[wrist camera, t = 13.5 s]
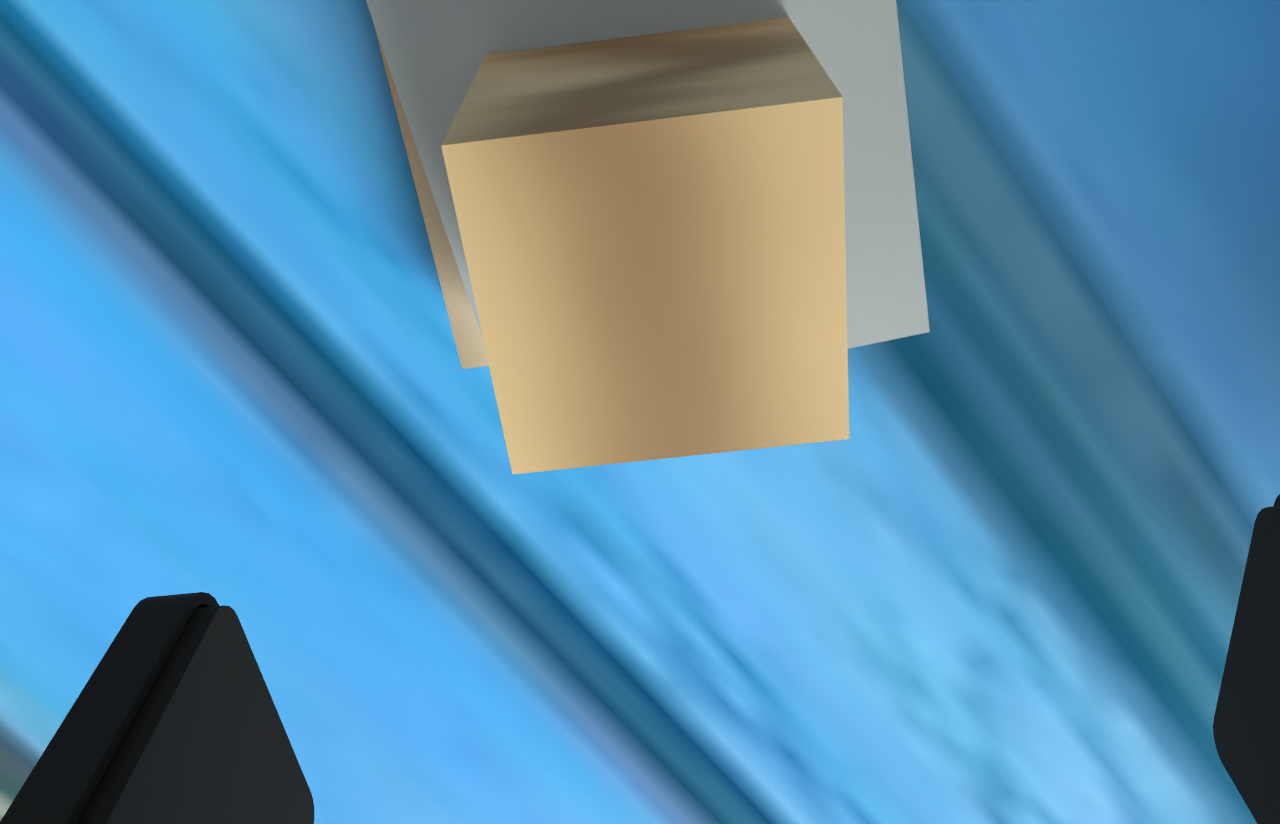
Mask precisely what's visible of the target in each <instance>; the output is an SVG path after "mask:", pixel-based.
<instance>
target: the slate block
mask: <svg viewBox="0 0 1280 824" xmlns="http://www.w3.org/2000/svg"><path fill="white" fill-rule="evenodd" d="M366 2H367V5H368V8H369V11H370V14H371V17H372V20H373V23H374V26H375V28H376V31H377V34H378V37H379V40H380V43H381V46H382V49H383V52H384V54H385V57H386V60H387V63H388V66H389V69H390V72H391V75H392V78H393V81H394V83H395V86H396V89H397V92H398V95H399V98H400V101H401V104H402V107H403V109H404V112H405V115H406V118H407V121H408V124H409V127H410V130H411V133H412V135H413V138H414V141H415V144H416V147H417V150H418V153H419V156H420V159H421V161H422V164H423V167H424V170H425V173H426V176H427V179H428V182H429V185H430V187H431V190H432V193H433V196H434V199H435V202H436V205H437V208H438V211H439V213H440V216H441V219H442V222H443V225H444V228H445V231H446V234H447V237H448V240H449V242H450V245H451V248H452V251H453V254H454V257H455V260H456V263H457V266H458V268H459V271H460V274H461V277H462V280H463V283H464V286H465V289H466V292H467V294H468V297H469V300H470V303H471V306H472V309H473V312H474V315H475V318H476V320H477V323H478V326H479V329H480V332H481V335H482V331H481V326H480V322H479V317H478V313H477V308H476V303H475V299H474V294H473V290H472V285H471V280H470V276H469V271H468V267H467V262H466V257H465V253H464V248H463V244H462V239H461V235H460V230H459V225H458V221H457V216H456V212H455V207H454V202H453V198H452V193H451V189H450V184H449V179H448V175H447V170H446V166H445V161H444V156H443V152H442V147H441V145H442V143H443V141H444V139H445V137H446V135H447V133H448V131H449V129H450V127H451V125H452V123H453V121H454V119H455V117H456V115H457V113H458V111H459V109H460V107H461V105H462V103H463V100H464V98H465V96H466V94H467V92H468V90H469V88H470V86H471V84H472V82H473V80H474V78H475V76H476V74H477V72H478V70H479V68H480V66H481V64H482V62H483V60H484V58H485V56H486V55H489V54H497V53H505V52H513V51H521V50H529V49H537V48H545V47H553V46H561V45H569V44H577V43H585V42H593V41H601V40H609V39H617V38H625V37H633V36H641V35H649V34H657V33H665V32H673V31H681V30H689V29H697V28H705V27H713V26H721V25H729V24H737V23H744V22H753V21H761V20H769V19H777V18H785V17H789V18H790V20H791V21H792V22H793V24H794V25H795V27H796V28H797V30H798V31H799V33H800V34H801V36H802V37H803V39H804V40H805V42H806V43H807V45H808V46H809V48H810V49H811V51H812V52H813V54H814V55H815V57H816V58H817V60H818V61H819V63H820V64H821V66H822V67H823V69H824V70H825V72H826V73H827V74H828V76H829V77H830V79H831V80H832V82H833V83H834V85H835V86H836V88H837V89H838V91H839V92H840V94H841V95H842V97H843V142H844V193H845V244H846V296H847V347H848V349H849V348H854V347H859V346H864V345H868V344H873V343H878V342H883V341H888V340H893V339H898V338H903V337H907V336H912V335H917V334H922V333H927V332H930V331H929V321H928V311H927V301H926V291H925V281H924V271H923V261H922V252H921V242H920V232H919V222H918V212H917V202H916V192H915V182H914V172H913V163H912V153H911V143H910V133H909V123H908V113H907V103H906V93H905V83H904V74H903V64H902V54H901V44H900V34H899V24H898V14H897V4H896V0H366ZM482 338H483V336H482ZM483 341H484V340H483Z"/></svg>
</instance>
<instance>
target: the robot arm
mask: <svg viewBox="0 0 1280 824" xmlns="http://www.w3.org/2000/svg"><path fill="white" fill-rule="evenodd" d="M1213 731H1214V740H1215V744H1216V748H1217V751H1218V754H1219V757H1220V759H1221V761H1222V763H1223V765H1224V767H1225V769H1226V770H1227V772H1228V774H1229V776H1230V777H1231V779H1232V781H1233V782H1234V784H1235V786H1236V788H1237V789H1238V791H1239V793H1240V794H1241V796H1242V798H1243V800H1244V801H1245V803H1246V805H1247V806H1248V808H1249V810H1250V811H1251V813H1252V815H1253V817H1254V818H1255V820H1256V822H1257V823H1258V824H1280V494H1279V496H1278V497H1277V498H1276V500H1275V503H1274V506H1273V507H1267V508H1264V509H1262V510H1261V511H1260V512H1259V513H1258V515H1257V518H1256V521H1255V525H1254V530H1253V534H1252V539H1251V544H1250V549H1249V554H1248V558H1247V563H1246V568H1245V573H1244V577H1243V582H1242V587H1241V592H1240V597H1239V601H1238V606H1237V611H1236V616H1235V621H1234V625H1233V630H1232V635H1231V640H1230V645H1229V649H1228V654H1227V659H1226V664H1225V669H1224V673H1223V678H1222V683H1221V688H1220V692H1219V697H1218V702H1217V707H1216V712H1215V716H1214V724H1213ZM0 824H314V804H313V798H312V795H311V792H310V789H309V787H308V784H307V782H306V780H305V777H304V775H303V772H302V770H301V768H300V765H299V763H298V760H297V758H296V756H295V753H294V751H293V748H292V746H291V744H290V741H289V739H288V736H287V734H286V732H285V729H284V727H283V724H282V722H281V720H280V717H279V715H278V712H277V710H276V708H275V705H274V703H273V700H272V698H271V696H270V693H269V691H268V688H267V686H266V684H265V681H264V679H263V676H262V674H261V672H260V669H259V667H258V664H257V662H256V660H255V657H254V655H253V652H252V650H251V648H250V645H249V643H248V640H247V638H246V635H245V633H244V631H243V628H242V626H241V623H240V621H239V619H238V616H237V615H236V613H235V611H234V610H233V609H232V608H231V607H230V606H219V604H218V603H217V601H216V599H215V598H214V597H213V596H211V595H210V594H209V593H204V592H199V593H189V594H178V595H168V596H157V597H147V598H145V599H143V600H141V601H140V602H139V603H138V604H137V605H136V606H135V607H134V609H133V610H132V612H131V613H130V615H129V617H128V618H127V620H126V621H125V623H124V625H123V626H122V628H121V629H120V631H119V633H118V634H117V636H116V637H115V639H114V641H113V642H112V644H111V645H110V647H109V649H108V650H107V652H106V653H105V655H104V657H103V658H102V660H101V661H100V663H99V665H98V666H97V668H96V669H95V671H94V673H93V674H92V676H91V677H90V679H89V681H88V682H87V684H86V685H85V687H84V689H83V690H82V692H81V693H80V695H79V697H78V698H77V700H76V701H75V703H74V705H73V706H72V708H71V709H70V711H69V713H68V714H67V716H66V717H65V719H64V721H63V722H62V724H61V725H60V727H59V729H58V730H57V732H56V733H55V735H54V737H53V738H52V740H51V741H50V743H49V745H48V746H47V748H46V749H45V751H44V753H43V754H42V756H41V758H40V759H39V761H38V762H37V764H36V766H35V767H34V769H33V770H32V772H31V774H30V775H29V777H28V778H27V780H26V782H25V783H24V785H23V786H22V788H21V790H20V791H19V793H18V794H17V796H16V798H15V799H14V801H13V802H12V804H11V806H10V807H9V809H8V810H7V812H6V814H5V815H4V817H3V818H2V820H1V822H0Z"/></svg>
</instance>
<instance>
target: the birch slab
mask: <svg viewBox="0 0 1280 824" xmlns="http://www.w3.org/2000/svg"><path fill="white" fill-rule="evenodd" d="M373 24H374V23H373ZM374 28H375V26H374ZM375 32H376V36H377V40H378V44H379V47H380V51H381V55H382V59H383V63H384V67H385V71H386V75H387V78H388V82H389V86H390V90H391V94H392V98H393V102H394V106H395V110H396V113H397V117H398V121H399V125H400V129H401V133H402V137H403V141H404V145H405V148H406V152H407V156H408V160H409V164H410V168H411V172H412V176H413V180H414V183H415V187H416V191H417V195H418V199H419V203H420V207H421V211H422V214H423V218H424V222H425V226H426V230H427V234H428V238H429V242H430V246H431V249H432V253H433V257H434V261H435V265H436V269H437V273H438V277H439V281H440V284H441V288H442V292H443V296H444V300H445V304H446V308H447V312H448V316H449V319H450V323H451V327H452V331H453V335H454V339H455V343H456V347H457V350H458V354H459V358H460V362H461V366H462V369H466V368H474V367H482V366H489V363H488V359H487V354H486V349H485V345H484V341H483V338H482V335H481V332H480V329H479V326H478V323H477V320H476V318H475V315H474V312H473V309H472V306H471V303H470V300H469V297H468V294H467V292H466V289H465V286H464V283H463V280H462V277H461V274H460V271H459V268H458V266H457V263H456V260H455V257H454V254H453V251H452V248H451V245H450V242H449V240H448V237H447V234H446V231H445V228H444V225H443V222H442V219H441V216H440V213H439V211H438V208H437V205H436V202H435V199H434V196H433V193H432V190H431V187H430V185H429V182H428V179H427V176H426V173H425V170H424V167H423V164H422V161H421V159H420V156H419V153H418V150H417V147H416V144H415V141H414V138H413V135H412V133H411V130H410V127H409V124H408V121H407V118H406V115H405V112H404V109H403V107H402V104H401V101H400V98H399V95H398V92H397V89H396V86H395V83H394V81H393V78H392V75H391V72H390V69H389V66H388V63H387V60H386V57H385V54H384V52H383V49H382V46H381V43H380V40H379V37H378V34H377V31H376V28H375Z"/></svg>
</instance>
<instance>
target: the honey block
mask: <svg viewBox="0 0 1280 824" xmlns="http://www.w3.org/2000/svg"><path fill="white" fill-rule="evenodd" d="M441 147H442V152H443V156H444V161H445V166H446V170H447V175H448V179H449V184H450V189H451V193H452V198H453V202H454V207H455V212H456V216H457V221H458V225H459V230H460V235H461V239H462V244H463V248H464V253H465V257H466V262H467V267H468V271H469V276H470V280H471V285H472V290H473V294H474V299H475V303H476V308H477V313H478V317H479V322H480V326H481V331H482V336H483V340H484V345H485V349H486V354H487V359H488V363H489V368H490V372H491V377H492V382H493V386H494V391H495V395H496V400H497V405H498V409H499V414H500V418H501V423H502V427H503V432H504V437H505V441H506V446H507V450H508V455H509V460H510V464H511V469H512V473H513V474H520V473H529V472H539V471H548V470H558V469H567V468H577V467H587V466H596V465H606V464H615V463H625V462H634V461H644V460H653V459H663V458H672V457H682V456H691V455H701V454H710V453H720V452H729V451H739V450H748V449H758V448H767V447H777V446H786V445H796V444H805V443H815V442H825V441H834V440H844V439H849V398H848V347H847V296H846V244H845V193H844V142H843V97H842V95H841V94H840V92H839V91H838V89H837V88H836V86H835V85H834V83H833V82H832V80H831V79H830V77H829V76H828V74H827V73H826V72H825V70H824V69H823V67H822V66H821V64H820V63H819V61H818V60H817V58H816V57H815V55H814V54H813V52H812V51H811V49H810V48H809V46H808V45H807V43H806V42H805V40H804V39H803V37H802V36H801V34H800V33H799V31H798V30H797V28H796V27H795V25H794V24H793V22H792V21H791V20H790V18H789V17H785V18H777V19H769V20H761V21H753V22H744V23H737V24H729V25H721V26H713V27H705V28H697V29H689V30H681V31H673V32H665V33H657V34H649V35H641V36H633V37H625V38H617V39H609V40H601V41H593V42H585V43H577V44H569V45H561V46H553V47H545V48H537V49H529V50H521V51H513V52H505V53H497V54H489V55H486V56H485V58H484V60H483V62H482V64H481V66H480V68H479V70H478V72H477V74H476V76H475V78H474V80H473V82H472V84H471V86H470V88H469V90H468V92H467V94H466V96H465V98H464V100H463V103H462V105H461V107H460V109H459V111H458V113H457V115H456V117H455V119H454V121H453V123H452V125H451V127H450V129H449V131H448V133H447V135H446V137H445V139H444V141H443V143H442V145H441Z"/></svg>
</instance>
